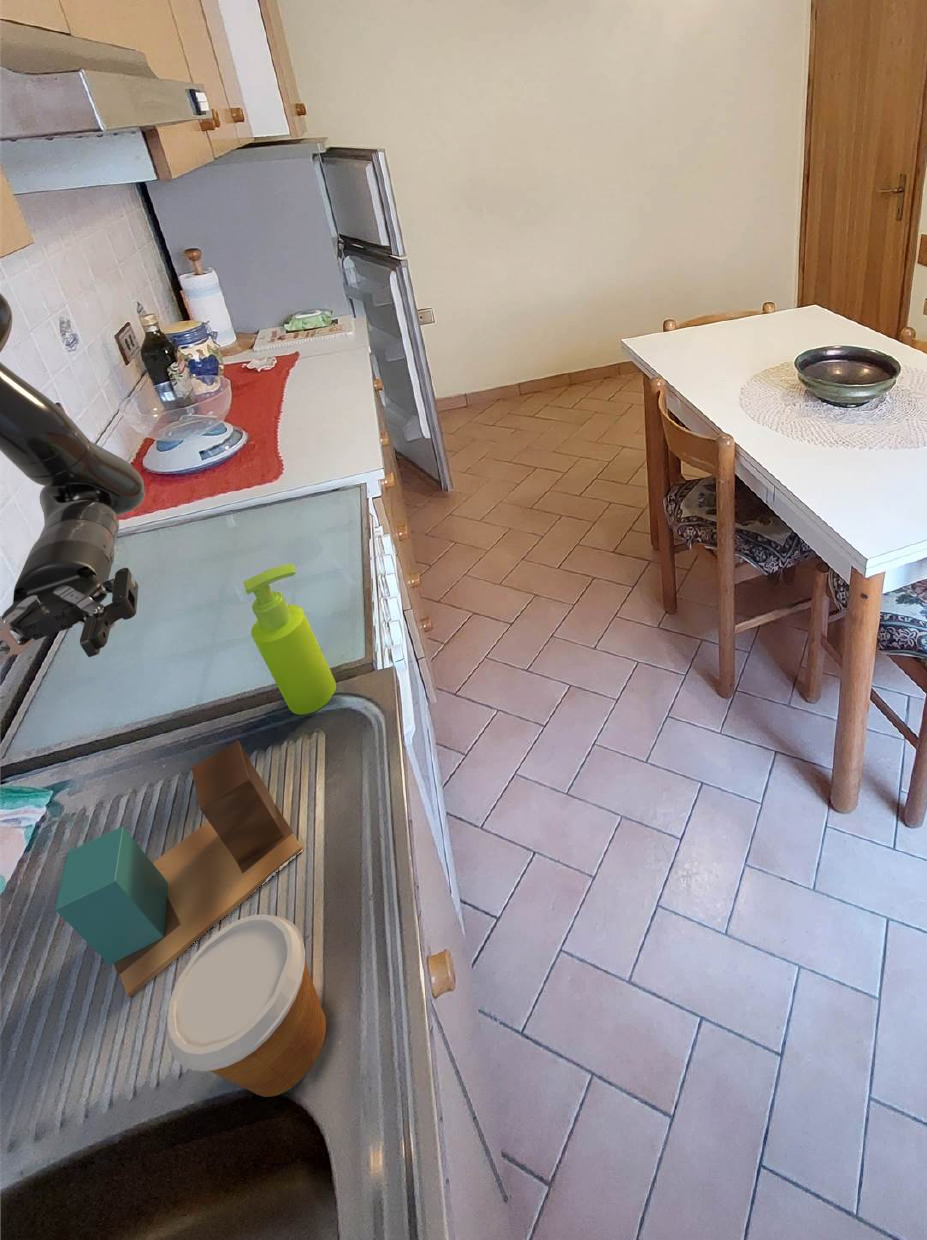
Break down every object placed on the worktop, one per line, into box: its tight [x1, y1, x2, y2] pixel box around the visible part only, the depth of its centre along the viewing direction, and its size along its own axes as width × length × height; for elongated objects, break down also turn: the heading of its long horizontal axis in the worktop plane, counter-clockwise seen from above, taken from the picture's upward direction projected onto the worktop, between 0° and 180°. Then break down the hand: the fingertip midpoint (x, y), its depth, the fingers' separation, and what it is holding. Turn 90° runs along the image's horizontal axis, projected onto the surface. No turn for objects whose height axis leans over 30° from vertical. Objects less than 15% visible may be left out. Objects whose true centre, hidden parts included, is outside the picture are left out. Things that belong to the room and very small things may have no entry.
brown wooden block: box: [190, 740, 284, 865], centre depth 70 cm, size 4×6×10 cm
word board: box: [113, 802, 303, 998], centre depth 69 cm, size 16×11×1 cm
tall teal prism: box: [55, 826, 168, 966], centre depth 63 cm, size 4×6×10 cm
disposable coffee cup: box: [166, 914, 327, 1098], centre depth 54 cm, size 10×10×12 cm
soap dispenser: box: [243, 563, 337, 716], centre depth 84 cm, size 6×7×20 cm
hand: (34, 669), depth 63 cm, fingers open, 8 cm apart
